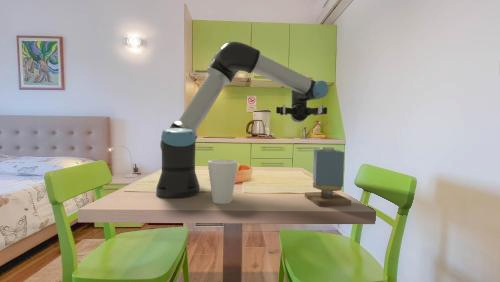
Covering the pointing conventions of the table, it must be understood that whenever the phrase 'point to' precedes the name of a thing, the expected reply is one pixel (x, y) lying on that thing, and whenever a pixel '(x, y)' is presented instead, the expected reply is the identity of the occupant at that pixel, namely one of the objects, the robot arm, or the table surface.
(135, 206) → the table surface
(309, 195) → the post stand
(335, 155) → the sleeve
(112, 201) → the table surface
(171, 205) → the table surface
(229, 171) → the foam cup
